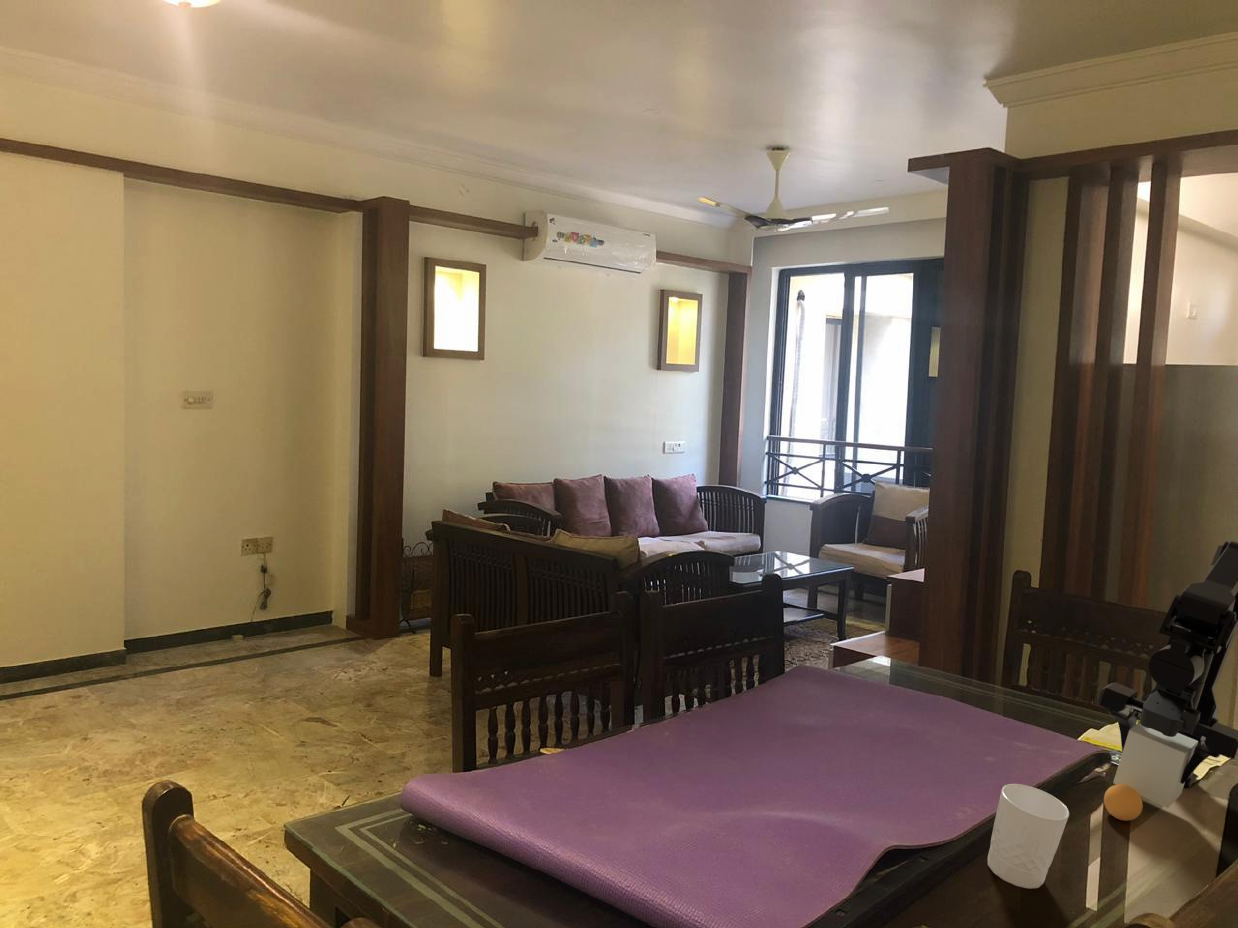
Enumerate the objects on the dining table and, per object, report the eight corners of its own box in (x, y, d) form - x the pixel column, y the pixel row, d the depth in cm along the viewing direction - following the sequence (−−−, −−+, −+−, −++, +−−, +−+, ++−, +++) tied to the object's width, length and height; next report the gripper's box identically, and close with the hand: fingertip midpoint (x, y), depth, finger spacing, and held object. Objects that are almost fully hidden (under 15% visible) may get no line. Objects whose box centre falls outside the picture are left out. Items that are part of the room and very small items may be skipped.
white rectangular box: (1127, 769, 149) (1143, 718, 148) (1181, 793, 144) (1198, 740, 143) (1113, 782, 144) (1129, 729, 142) (1168, 807, 139) (1185, 753, 137)
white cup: (1036, 860, 123) (1056, 791, 121) (1056, 898, 115) (1078, 825, 113) (975, 847, 124) (994, 778, 122) (991, 883, 116) (1012, 810, 114)
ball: (1105, 804, 142) (1114, 774, 141) (1141, 821, 139) (1151, 790, 138) (1095, 813, 138) (1104, 783, 138) (1131, 831, 135) (1141, 800, 134)
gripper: (1100, 659, 141) (1072, 754, 144) (1244, 713, 128) (1209, 816, 131) (1122, 647, 149) (1095, 737, 152) (1259, 697, 137) (1226, 794, 140)
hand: (1153, 769), depth 143 cm, fingers closed on white rectangular box, 8 cm apart
